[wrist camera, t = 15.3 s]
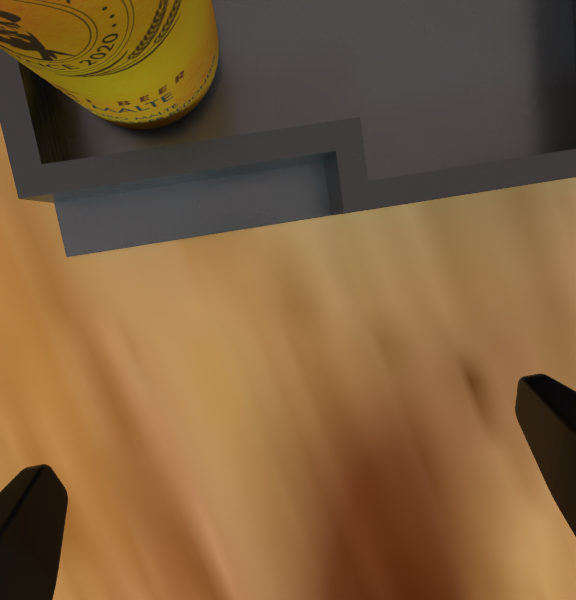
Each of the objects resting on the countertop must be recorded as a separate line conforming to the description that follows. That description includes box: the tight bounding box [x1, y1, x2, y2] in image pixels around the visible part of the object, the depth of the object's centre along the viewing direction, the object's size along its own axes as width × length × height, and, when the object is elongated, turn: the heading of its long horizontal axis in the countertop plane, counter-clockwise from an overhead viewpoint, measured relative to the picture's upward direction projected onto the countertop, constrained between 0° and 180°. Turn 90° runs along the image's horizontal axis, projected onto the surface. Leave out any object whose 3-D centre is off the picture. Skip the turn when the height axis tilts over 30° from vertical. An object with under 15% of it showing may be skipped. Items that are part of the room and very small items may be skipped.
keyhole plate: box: [0, 0, 576, 257], centre depth 18 cm, size 15×23×4 cm, turn 99°
